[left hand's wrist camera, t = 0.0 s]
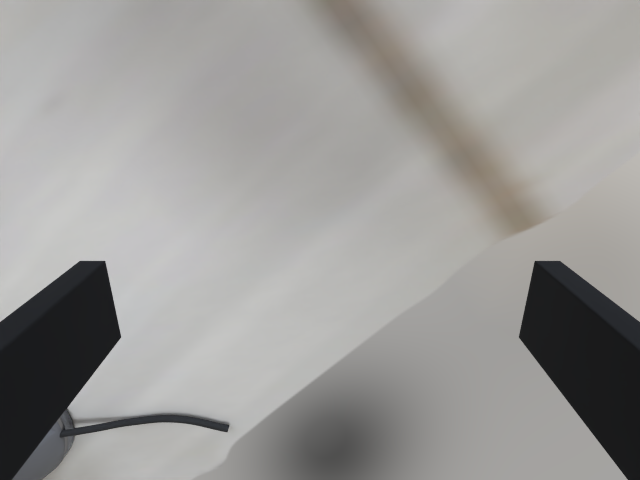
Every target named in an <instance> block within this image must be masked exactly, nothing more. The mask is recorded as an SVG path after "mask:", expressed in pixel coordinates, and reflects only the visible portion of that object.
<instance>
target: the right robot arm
mask: <svg viewBox="0 0 640 480" xmlns="http://www.w3.org/2000/svg"><path fill="white" fill-rule="evenodd" d="M157 422H174V423H186V424H192V425H197V426H202V427H206V428H210V429H214V430H219V431H223V432H228V428H229V425H225V424H220V423H216V422H212V421H208V420H204V419H199V418H194V417H188V416H176V415H158V416H147V417H139V418H131V419H124V420H118V421H112V422H107V423H102V424H97V425H91V426H85V427H79V428H74V427H73V423H72V420H71V418H70V415H69V414H68V412H67V410H65V411H64V412H63V414H62V415H61V416H60V418H59V419H58V420H57V422H56V423H55V424H54V426H53V427H52V428H51V429H50V431H49V432H48V433H47V435H46V436H45V437H44V439H43V440H42V441H41V443H40V444H39V445H38V446H37V448H36V449H35V450H34V452H33V453H32V454H31V456H30V457H29V458H28V459H27V461H26V462H25V463H24V465H23V466H22V467H21V469H20V470H19V471H18V473H17V474H16V475H15V476H14V478H13V479H12V480H42V479H43V478H44V477H45V476H47V475H48V474H49V473H50V472H51V471H53V470H54V469H55V468H56V467H57V466H58V465H59V464H60V463H61V461H62V460H63V458H64V457H65V455H66V454H67V452H68V451H69V449H70V447H71V446H72V443H73V439H74V435H80V434H86V433H92V432H97V431H103V430H108V429H113V428H118V427H124V426H131V425H139V424H146V423H157Z"/></svg>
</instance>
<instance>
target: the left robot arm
mask: <svg viewBox="0 0 640 480" xmlns="http://www.w3.org/2000/svg"><path fill="white" fill-rule="evenodd" d="M120 338H121V334H120V330H119V325H118V320H117V315H116V311H115V306H114V301H113V296H112V291H111V287H110V282H109V277H108V272H107V268H106V263H105V261H79V262H78V263H77V264H76V265H74V266H73V267H72V268H70V269H69V270H68V271H66V272H65V273H64V274H63V275H61V276H60V277H59V278H57V279H56V280H55V281H53V282H52V283H51V284H49V285H48V286H47V287H46V288H44V289H43V290H42V291H40V292H39V293H38V294H36V295H35V296H34V297H32V298H31V299H30V300H29V301H27V302H26V303H25V304H23V305H22V306H21V307H19V308H18V309H17V310H15V311H14V312H13V313H12V314H10V315H9V316H8V317H6V318H5V319H4V320H2V321H1V322H0V480H12V479H13V478H14V476H15V475H16V474H17V473H18V471H19V470H20V469H21V467H22V466H23V465H24V463H25V462H26V461H27V459H28V458H29V457H30V456H31V454H32V453H33V452H34V450H35V449H36V448H37V446H38V445H39V444H40V443H41V441H42V440H43V439H44V437H45V436H46V435H47V433H48V432H49V431H50V429H51V428H52V427H53V426H54V424H55V423H56V422H57V420H58V419H59V418H60V416H61V415H62V414H63V412H64V411H65V410H66V409H67V407H68V406H69V405H70V403H71V402H72V401H73V399H74V398H75V397H76V395H77V394H78V393H79V392H80V390H81V389H82V388H83V386H84V385H85V384H86V382H87V381H88V380H89V379H90V377H91V376H92V375H93V373H94V372H95V371H96V369H97V368H98V367H99V365H100V364H101V363H102V362H103V360H104V359H105V358H106V356H107V355H108V354H109V352H110V351H111V350H112V348H113V347H114V346H115V345H116V343H117V342H118V341H119V339H120ZM519 338H520V339H521V341H522V342H523V343H524V345H525V346H526V347H527V348H528V350H529V351H530V352H531V354H532V355H533V356H534V358H535V359H536V360H537V362H538V363H539V364H540V365H541V367H542V368H543V369H544V371H545V372H546V373H547V375H548V376H549V377H550V378H551V380H552V381H553V382H554V384H555V385H556V386H557V388H558V389H559V390H560V392H561V393H562V394H563V395H564V397H565V398H566V399H567V401H568V402H569V403H570V405H571V406H572V407H573V409H574V410H575V411H576V412H577V414H578V415H579V416H580V418H581V419H582V420H583V422H584V423H585V424H586V426H587V427H588V428H589V429H590V431H591V432H592V433H593V435H594V436H595V437H596V439H597V440H598V441H599V442H600V444H601V445H602V446H603V448H604V449H605V450H606V452H607V453H608V454H609V456H610V457H611V458H612V460H613V461H614V462H615V463H616V465H617V466H618V467H619V469H620V470H621V471H622V473H623V474H624V475H625V476H626V478H627V479H628V480H640V322H639V321H638V320H636V319H635V318H634V317H632V316H631V315H630V314H628V313H627V312H626V311H624V310H623V309H622V308H620V307H619V306H618V305H617V304H615V303H614V302H613V301H611V300H610V299H609V298H608V297H606V296H605V295H604V294H602V293H601V292H600V291H598V290H597V289H596V288H594V287H593V286H592V285H591V284H589V283H588V282H587V281H585V280H584V279H583V278H581V277H580V276H579V275H577V274H576V273H575V272H574V271H572V270H571V269H570V268H568V267H567V266H566V265H564V264H563V263H562V262H561V261H535V263H534V268H533V273H532V277H531V282H530V287H529V292H528V296H527V301H526V306H525V311H524V315H523V320H522V325H521V330H520V335H519Z"/></svg>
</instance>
